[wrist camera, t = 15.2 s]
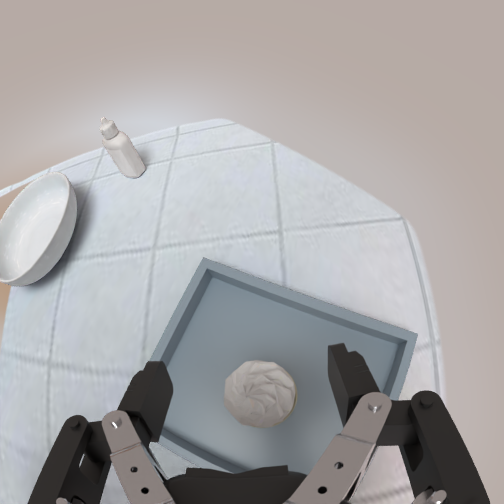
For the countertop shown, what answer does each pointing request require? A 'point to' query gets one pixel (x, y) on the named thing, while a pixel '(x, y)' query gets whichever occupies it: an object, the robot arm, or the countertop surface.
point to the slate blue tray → (270, 350)
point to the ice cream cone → (260, 394)
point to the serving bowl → (36, 229)
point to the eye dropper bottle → (121, 150)
